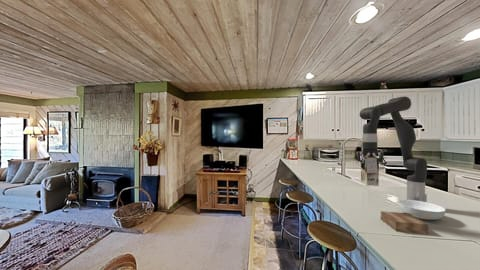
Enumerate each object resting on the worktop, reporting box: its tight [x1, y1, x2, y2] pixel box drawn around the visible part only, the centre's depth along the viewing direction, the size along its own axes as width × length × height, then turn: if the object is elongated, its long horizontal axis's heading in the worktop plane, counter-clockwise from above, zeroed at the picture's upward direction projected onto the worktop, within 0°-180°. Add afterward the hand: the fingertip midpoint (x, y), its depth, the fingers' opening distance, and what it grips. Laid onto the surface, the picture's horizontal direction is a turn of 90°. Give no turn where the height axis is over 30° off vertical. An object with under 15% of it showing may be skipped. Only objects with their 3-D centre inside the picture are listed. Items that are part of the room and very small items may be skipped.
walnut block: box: [380, 211, 429, 235], centre depth 104 cm, size 14×14×5 cm
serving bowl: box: [397, 199, 447, 221], centre depth 117 cm, size 21×21×7 cm
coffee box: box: [360, 155, 380, 187], centre depth 118 cm, size 9×6×16 cm
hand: (369, 169), depth 118 cm, fingers closed on coffee box, 6 cm apart
